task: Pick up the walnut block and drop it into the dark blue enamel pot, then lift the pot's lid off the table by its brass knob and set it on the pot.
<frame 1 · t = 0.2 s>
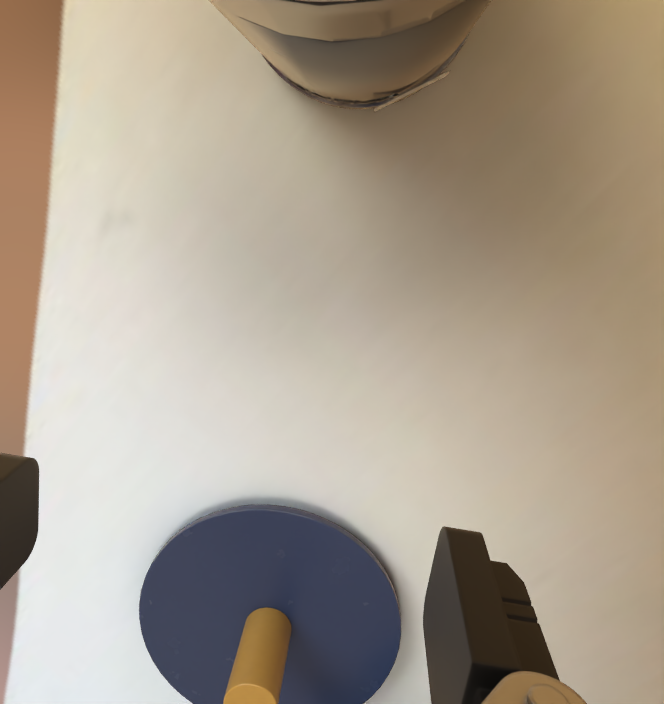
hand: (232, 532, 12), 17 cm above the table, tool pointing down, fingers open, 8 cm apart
lid: (270, 619, 33), point 1 cm above the table
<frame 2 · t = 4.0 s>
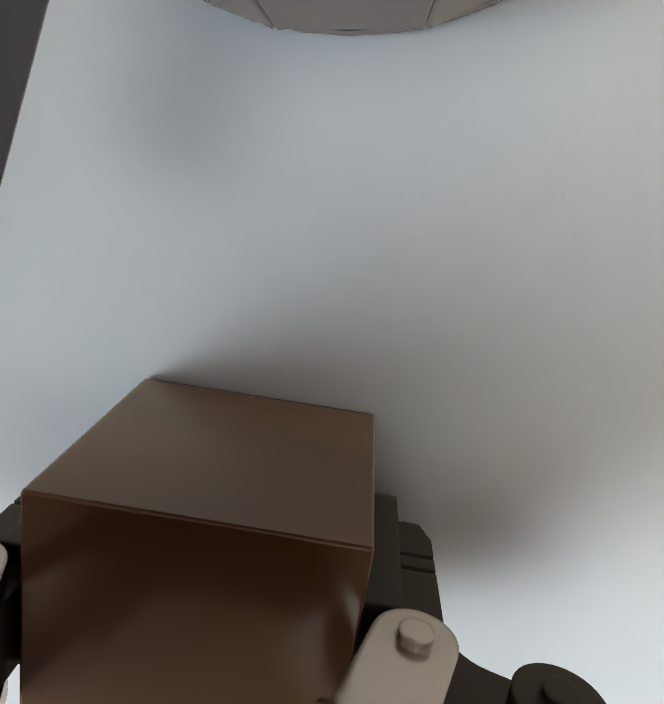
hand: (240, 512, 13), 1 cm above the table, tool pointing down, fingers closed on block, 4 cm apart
block: (247, 498, 14), on the table, touching gripper
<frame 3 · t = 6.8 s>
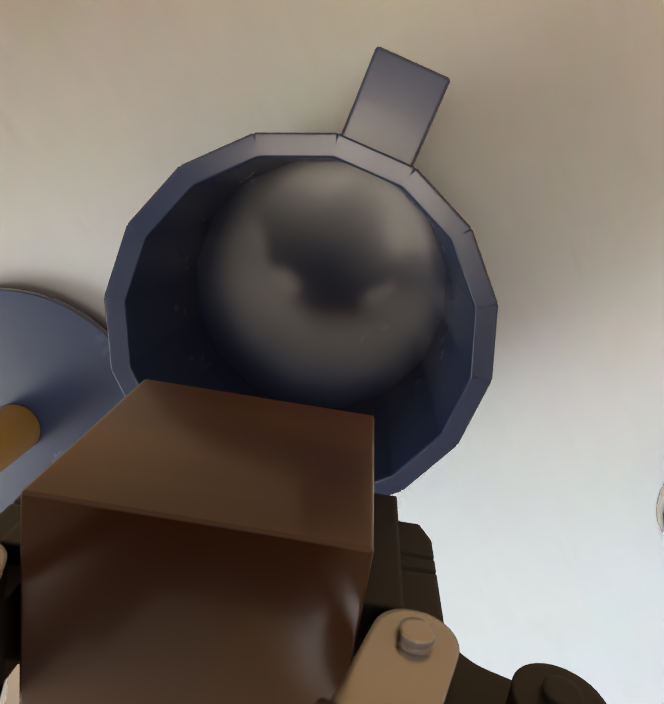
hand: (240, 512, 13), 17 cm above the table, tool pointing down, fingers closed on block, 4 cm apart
block: (246, 499, 14), point 16 cm above the table, touching gripper
lid: (22, 423, 31), point 1 cm above the table
pot: (320, 288, 29), on the table
when the fingers open (7 cm above the table, at t = 9.6 s): block drops 6 cm, resting on pot.
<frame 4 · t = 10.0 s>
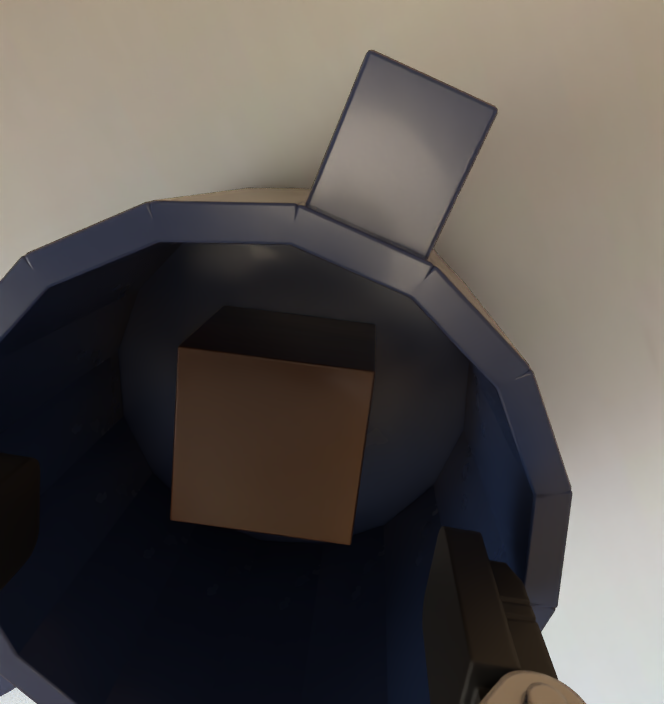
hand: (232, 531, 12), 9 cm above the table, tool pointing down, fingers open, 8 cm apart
block: (292, 386, 20), point 1 cm above the table, touching pot
pot: (292, 384, 21), on the table
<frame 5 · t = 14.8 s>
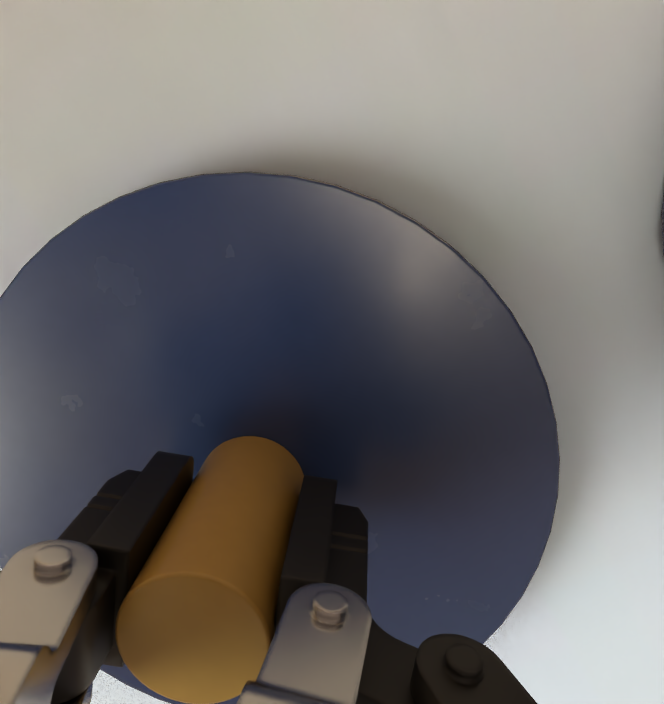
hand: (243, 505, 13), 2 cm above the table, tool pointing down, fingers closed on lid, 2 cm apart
lid: (257, 473, 15), point 1 cm above the table, touching gripper
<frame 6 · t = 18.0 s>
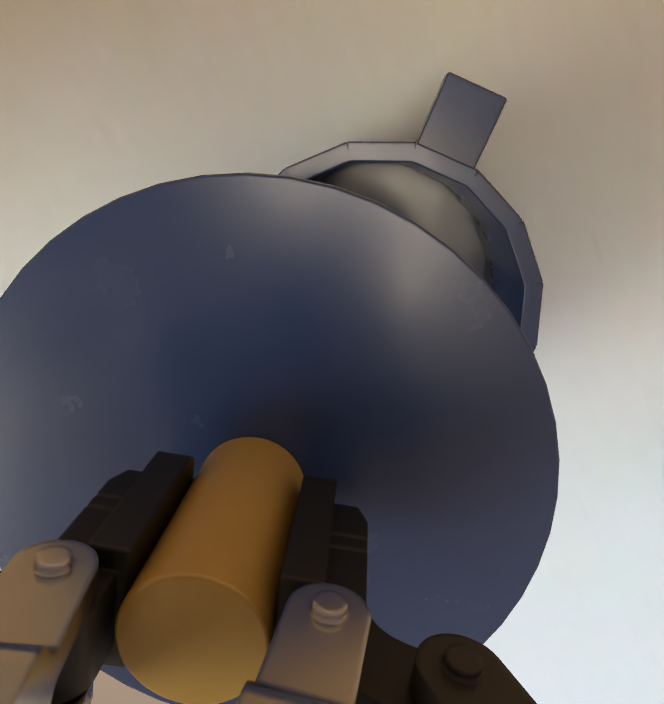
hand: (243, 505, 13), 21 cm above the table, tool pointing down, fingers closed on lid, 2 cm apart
lid: (256, 474, 15), point 20 cm above the table, touching gripper
pot: (374, 274, 33), on the table
when the fingers open (10 cm above the table, at t = 21.5 s): lid stays where it is, resting on pot.
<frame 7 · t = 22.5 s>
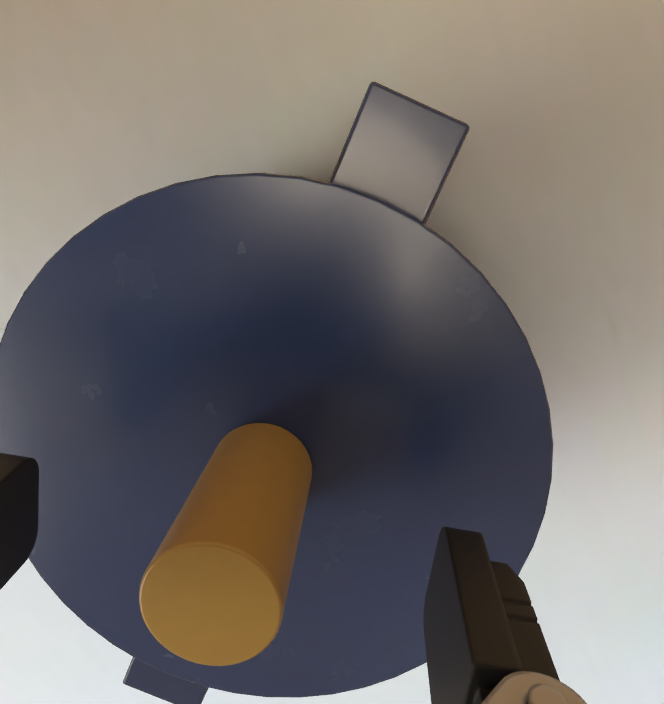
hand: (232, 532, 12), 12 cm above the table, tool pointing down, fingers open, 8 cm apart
lid: (266, 459, 16), point 9 cm above the table, touching pot
pot: (304, 356, 24), on the table
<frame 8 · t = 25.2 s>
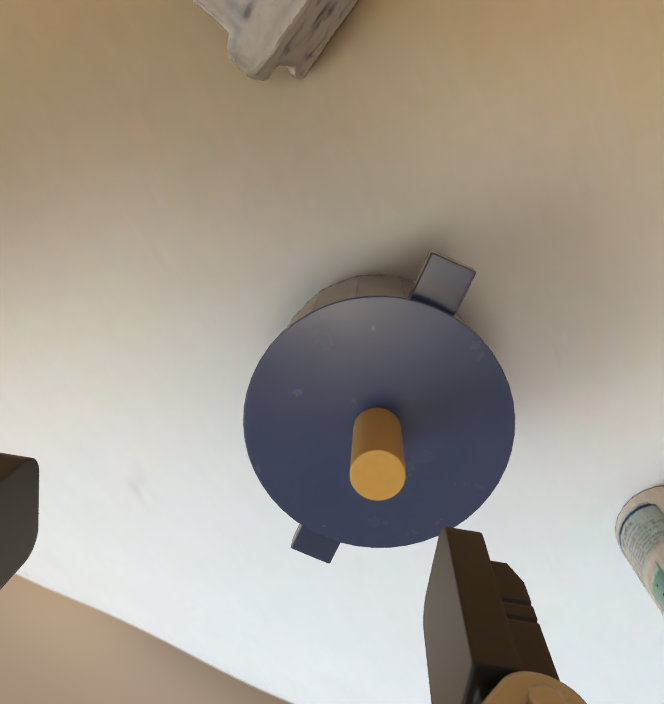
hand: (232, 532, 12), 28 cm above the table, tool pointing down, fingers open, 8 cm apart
lid: (377, 425, 32), point 9 cm above the table, touching pot
pot: (376, 371, 41), on the table
spray can: (660, 524, 43), on the table
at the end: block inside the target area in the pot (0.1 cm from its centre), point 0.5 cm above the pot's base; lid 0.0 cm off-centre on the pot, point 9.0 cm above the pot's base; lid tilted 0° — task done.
